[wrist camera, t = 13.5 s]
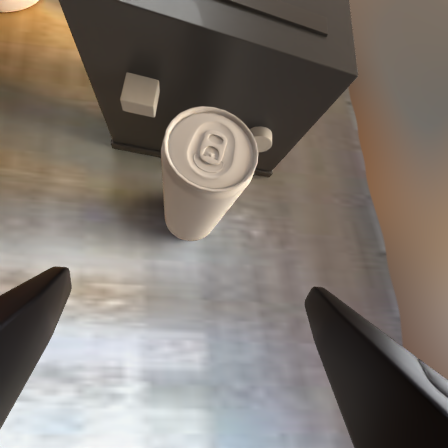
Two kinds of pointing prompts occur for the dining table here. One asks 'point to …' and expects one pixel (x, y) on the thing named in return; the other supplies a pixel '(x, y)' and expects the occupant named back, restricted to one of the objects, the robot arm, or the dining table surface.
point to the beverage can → (204, 169)
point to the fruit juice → (15, 5)
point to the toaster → (214, 65)
